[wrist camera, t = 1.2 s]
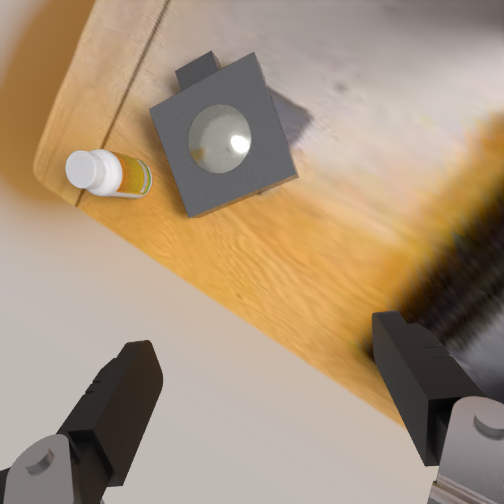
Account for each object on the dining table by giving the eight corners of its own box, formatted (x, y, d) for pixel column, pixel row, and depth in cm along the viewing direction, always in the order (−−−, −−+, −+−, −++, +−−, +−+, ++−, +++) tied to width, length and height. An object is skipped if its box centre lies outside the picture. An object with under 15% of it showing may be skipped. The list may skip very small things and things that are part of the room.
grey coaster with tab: (153, 96, 39) (138, 85, 36) (251, 41, 35) (244, 24, 32) (198, 218, 39) (186, 218, 36) (299, 177, 36) (296, 173, 32)
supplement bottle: (143, 152, 40) (87, 133, 31) (159, 188, 40) (109, 180, 31) (113, 170, 42) (51, 157, 32) (129, 205, 42) (72, 203, 32)
